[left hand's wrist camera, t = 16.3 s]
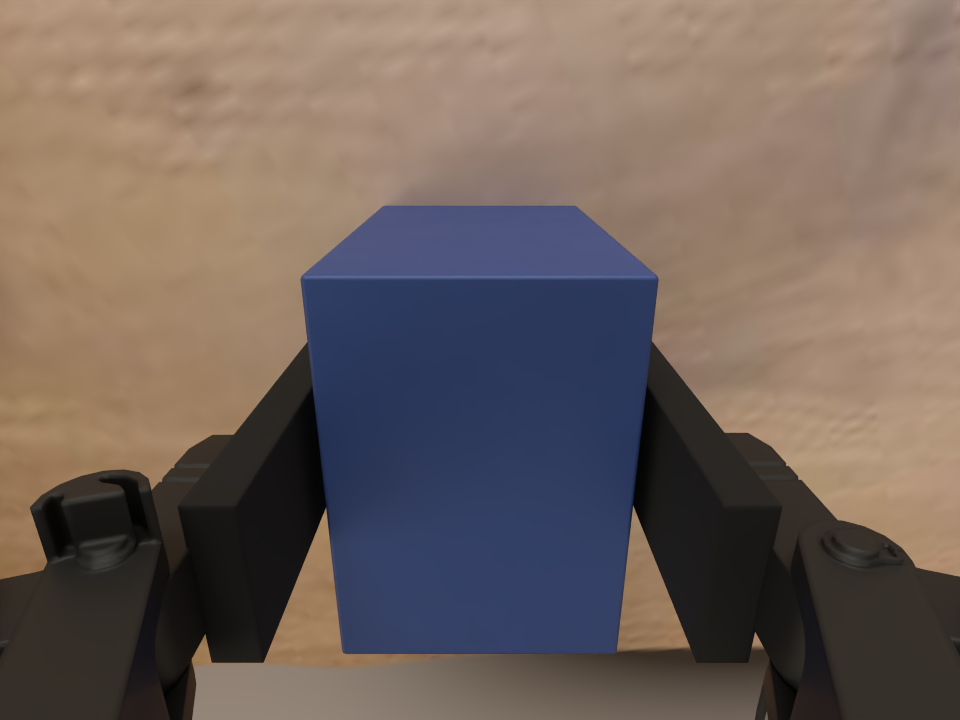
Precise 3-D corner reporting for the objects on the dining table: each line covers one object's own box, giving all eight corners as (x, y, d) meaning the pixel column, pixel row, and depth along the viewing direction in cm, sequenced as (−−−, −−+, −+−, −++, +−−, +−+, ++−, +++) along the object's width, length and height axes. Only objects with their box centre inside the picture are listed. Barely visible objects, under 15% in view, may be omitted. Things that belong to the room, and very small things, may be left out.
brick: (562, 444, 20) (617, 655, 12) (396, 444, 20) (341, 655, 12) (576, 205, 17) (660, 275, 9) (382, 205, 17) (298, 275, 9)
